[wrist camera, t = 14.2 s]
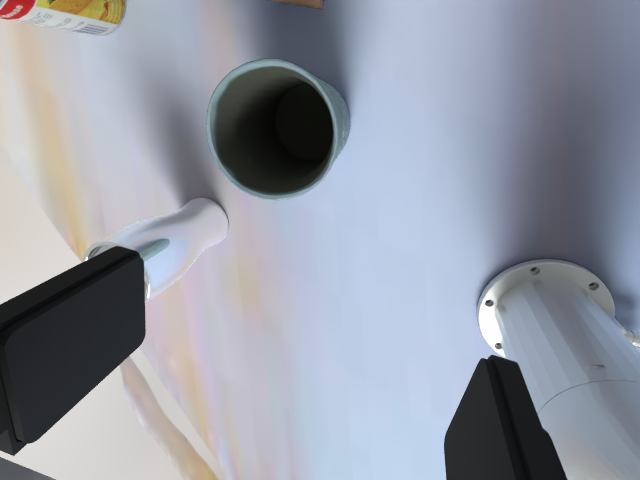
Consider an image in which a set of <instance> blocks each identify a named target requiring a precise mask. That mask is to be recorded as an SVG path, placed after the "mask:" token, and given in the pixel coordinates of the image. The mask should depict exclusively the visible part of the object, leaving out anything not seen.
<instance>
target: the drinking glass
mask: <svg viewBox="0 0 640 480" xmlns="http://www.w3.org/2000/svg"><path fill="white" fill-rule="evenodd" d="M349 131H350V116H349V112H348V108H347V106H346V103H345V101H344V99H343V98H342V96H341V95H340V94H339V92H338V91H337V90H336V89H334V88H333V87H332V86H331V85H329V84H328V83H326V82H324V81H323V80H321V79H319V78H316V77H315V76H313V75H312V74H311V73H309V72H308V71H306V70H305V69H303V68H302V67H300V66H298V65H296V64H294V63H291V62H289V61H285V60H281V59H277V58H267V59H260V60H255V61H251V62H247V63H245V64H243V65H241V66H239V67H237V68H235V69H234V70H232V71H231V72H230V73H229V74H228V75H226V76H225V77H224V78H223V80H222V81H221V82H220V83H219V84H218V86H217V87H216V89H215V91H214V93H213V95H212V97H211V100H210V103H209V106H208V110H207V118H206V132H207V139H208V143H209V147H210V150H211V153H212V156H213V158H214V160H215V162H216V163H217V165H218V167H219V169H220V170H221V171H222V173H223V174H224V175H225V176H226V177H227V178H228V180H229V181H230V182H231V183H233V184H234V185H235V186H236V187H238V188H239V189H240V190H242V191H244V192H245V193H247V194H249V195H251V196H254V197H257V198H261V199H265V200H272V201H279V200H288V199H292V198H296V197H299V196H301V195H304V194H305V193H307V192H309V191H310V190H312V189H313V188H314V187H315V186H317V185H318V184H319V183H320V182H321V181H322V180H323V179H324V178H325V176H326V175H327V173H328V172H329V170H330V169H331V167H332V165H333V163H334V161H335V160H336V158H337V157H338V155H339V154H340V152H341V151H342V149H343V148H344V146H345V144H346V142H347V139H348V136H349Z"/></svg>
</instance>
